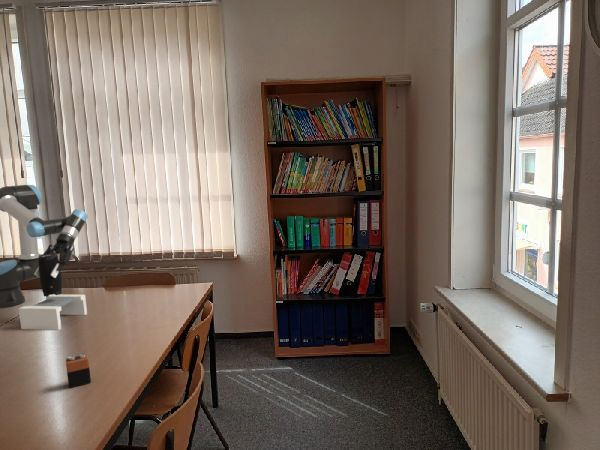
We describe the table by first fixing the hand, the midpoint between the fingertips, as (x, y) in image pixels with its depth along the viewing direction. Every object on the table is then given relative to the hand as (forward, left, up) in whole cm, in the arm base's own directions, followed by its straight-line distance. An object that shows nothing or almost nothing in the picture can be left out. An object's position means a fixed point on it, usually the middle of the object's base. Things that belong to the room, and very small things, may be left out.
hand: (44, 276), depth 218 cm
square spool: (-3, 0, -23) cm, 23 cm away
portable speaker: (-3, +1, -10) cm, 11 cm away
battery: (+56, +52, -24) cm, 80 cm away
